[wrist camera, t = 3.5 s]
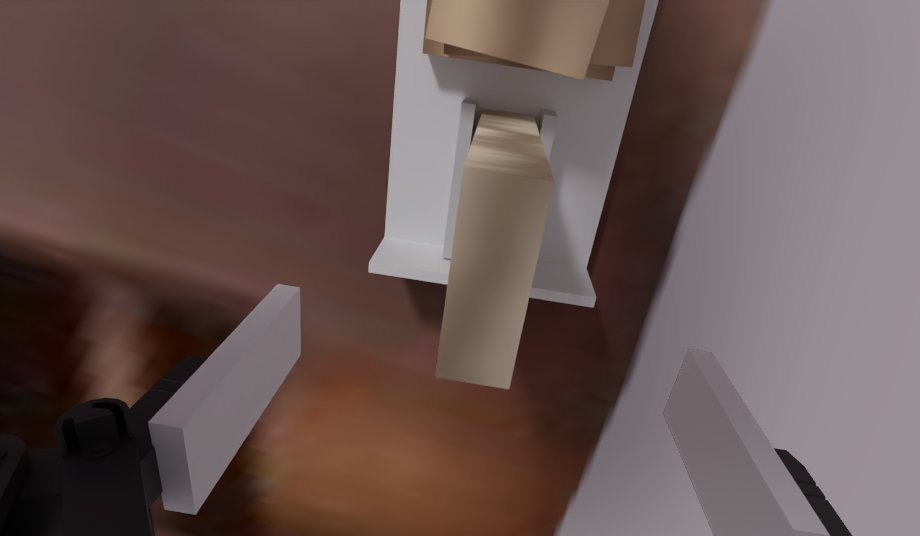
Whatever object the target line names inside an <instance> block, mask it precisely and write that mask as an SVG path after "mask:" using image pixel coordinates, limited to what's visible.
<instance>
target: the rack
mask: <svg viewBox="0 0 920 536" xmlns="http://www.w3.org/2000/svg"><path fill="white" fill-rule="evenodd" d="M658 1H659V0H646V1H645V6H644V11H643V16H642V21H641V26H640V31H639V36H638V41H637V46H636V52H635V57H634V62H633V67H621V66H616V67H615V71H614V75H613V79H612V81H607V80H601V79H594V78H587V77H584V80H581V79H578V78H574V77H570V76H566V75H562V74H559V73H553V72H546V71H539V70H532V69H525V68H519V67H512V66H505V65H498V64H491V63H484V62H478V61H471V60H464V59H457V58H450V57H443V56H437V55H430V54H423V53H422V52H423V41H424V30H425V18H426V7H427V0H401V5H400V19H399V34H398V49H397V63H396V78H395V92H394V107H393V122H392V136H391V151H390V165H389V180H388V195H387V209H386V224H385V237H384V239H383V240H382V242H381V244H380V245H379V247H378V248H377V250H376V252H375V253H374V255H373V257H372V258H371V260H370V261H369V272H370V273H376V274H383V275H389V276H396V277H402V278H408V279H415V280H421V281H427V282H434V283H440V284H446V285H447V284H448V277H449V270H450V262H451V255H452V247H453V240H454V233H455V225H456V218H457V210H458V203H459V195H460V188H461V181H462V173H463V167H464V164H465V161H466V158H467V155H468V152H469V149H470V146H471V143H472V140H473V137H474V135H475V132H476V129H477V126H478V123H479V120H480V117H481V114H482V111H483V108H485V109H491V110H498V111H505V112H512V113H518V114H525V115H532V116H534V118H535V122H536V125H537V128H538V131H539V134H540V137H541V140H542V143H543V147H544V150H545V153H546V156H547V159H548V162H549V165H550V168H551V172H552V175H553V178H554V181H555V182H554V187H553V192H552V196H551V201H550V205H549V210H548V214H547V219H546V223H545V228H544V233H543V237H542V242H541V246H540V251H539V255H538V260H537V264H536V269H535V274H534V278H533V283H532V287H531V292H530V296H529V298H535V299H542V300H548V301H554V302H561V303H567V304H573V305H580V306H586V307H592V308H594V304H595V301H596V295H595V292H594V289H593V286H592V283H591V280H590V277H589V274H588V271H587V269H586V268H587V264H588V261H589V257H590V253H591V249H592V246H593V242H594V238H595V235H596V231H597V227H598V223H599V220H600V216H601V212H602V209H603V205H604V201H605V198H606V194H607V190H608V186H609V183H610V179H611V175H612V172H613V168H614V164H615V160H616V157H617V153H618V149H619V146H620V142H621V138H622V135H623V131H624V127H625V123H626V120H627V116H628V112H629V109H630V105H631V101H632V97H633V94H634V90H635V86H636V83H637V79H638V75H639V71H640V68H641V64H642V60H643V57H644V53H645V49H646V46H647V42H648V38H649V34H650V31H651V27H652V23H653V20H654V16H655V12H656V8H657V5H658Z"/></svg>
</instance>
